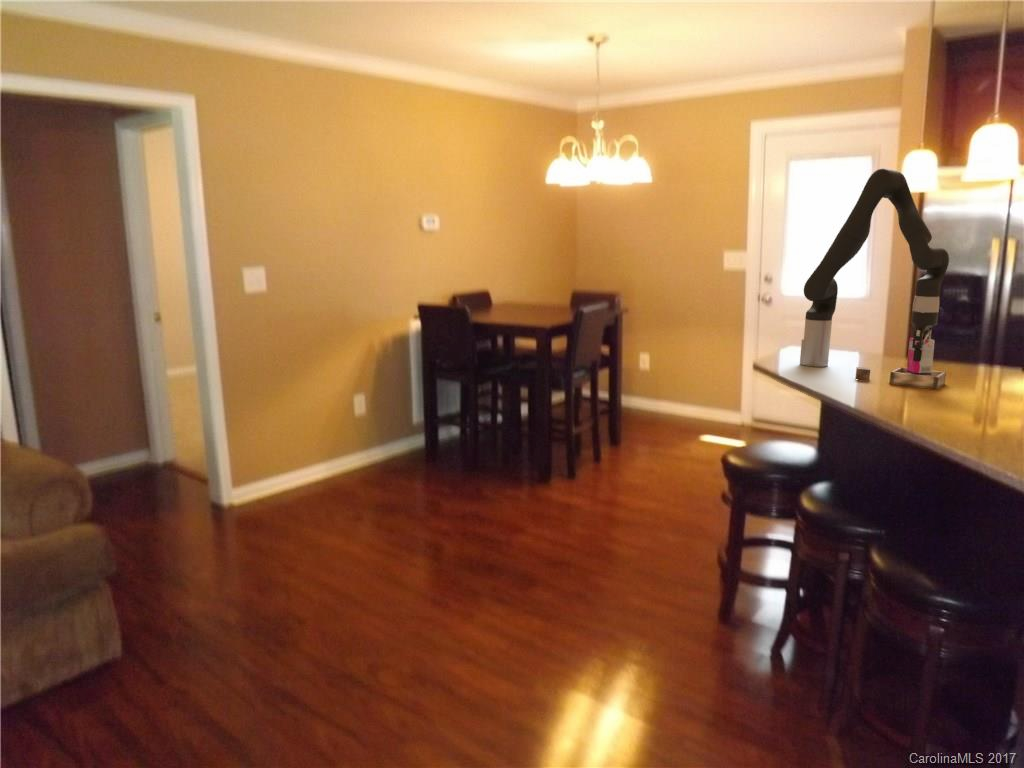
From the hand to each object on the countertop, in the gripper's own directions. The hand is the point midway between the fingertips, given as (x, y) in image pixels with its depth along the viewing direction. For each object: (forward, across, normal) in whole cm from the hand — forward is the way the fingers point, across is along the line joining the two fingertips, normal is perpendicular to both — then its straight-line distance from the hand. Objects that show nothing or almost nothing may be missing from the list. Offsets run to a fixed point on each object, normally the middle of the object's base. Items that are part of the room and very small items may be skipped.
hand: (919, 359), depth 247 cm
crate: (+8, 0, 0) cm, 8 cm away
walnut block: (+8, +4, -16) cm, 18 cm away
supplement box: (+5, 0, 0) cm, 5 cm away
